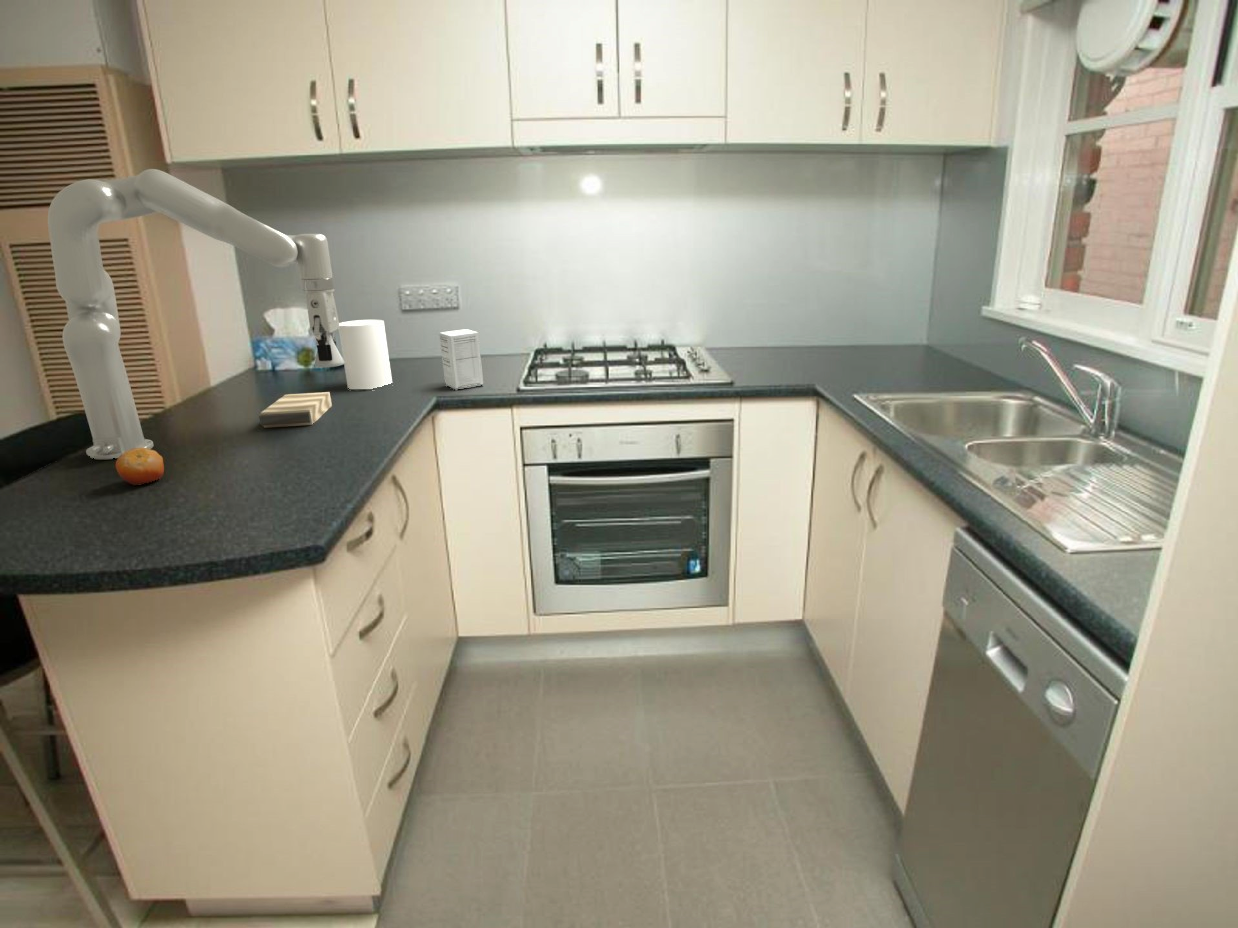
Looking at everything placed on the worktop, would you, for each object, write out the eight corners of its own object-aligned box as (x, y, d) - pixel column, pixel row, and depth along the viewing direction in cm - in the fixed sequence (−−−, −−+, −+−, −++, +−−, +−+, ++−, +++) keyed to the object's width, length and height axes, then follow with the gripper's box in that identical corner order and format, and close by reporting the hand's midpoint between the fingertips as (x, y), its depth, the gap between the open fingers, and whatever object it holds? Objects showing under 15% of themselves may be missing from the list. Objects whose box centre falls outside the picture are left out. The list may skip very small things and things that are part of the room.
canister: (346, 392, 217) (335, 327, 211) (349, 383, 230) (339, 321, 223) (392, 388, 221) (383, 324, 214) (393, 380, 233) (384, 318, 226)
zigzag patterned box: (310, 426, 182) (307, 411, 180) (261, 429, 180) (258, 414, 179) (331, 405, 202) (329, 392, 201) (287, 408, 201) (285, 394, 199)
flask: (334, 368, 179) (328, 328, 176) (308, 368, 180) (302, 328, 177) (350, 363, 185) (344, 324, 182) (325, 362, 187) (319, 324, 184)
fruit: (153, 464, 151) (152, 437, 146) (170, 489, 148) (170, 461, 144) (109, 475, 145) (107, 447, 140) (126, 501, 142) (125, 473, 138)
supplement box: (472, 381, 227) (467, 328, 222) (484, 386, 220) (479, 331, 214) (444, 386, 222) (438, 332, 217) (455, 391, 215) (449, 335, 209)
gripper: (324, 288, 169) (335, 364, 175) (341, 282, 185) (351, 352, 191) (291, 289, 168) (304, 365, 174) (311, 283, 184) (322, 353, 190)
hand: (328, 358), depth 182 cm, fingers closed on flask, 4 cm apart
